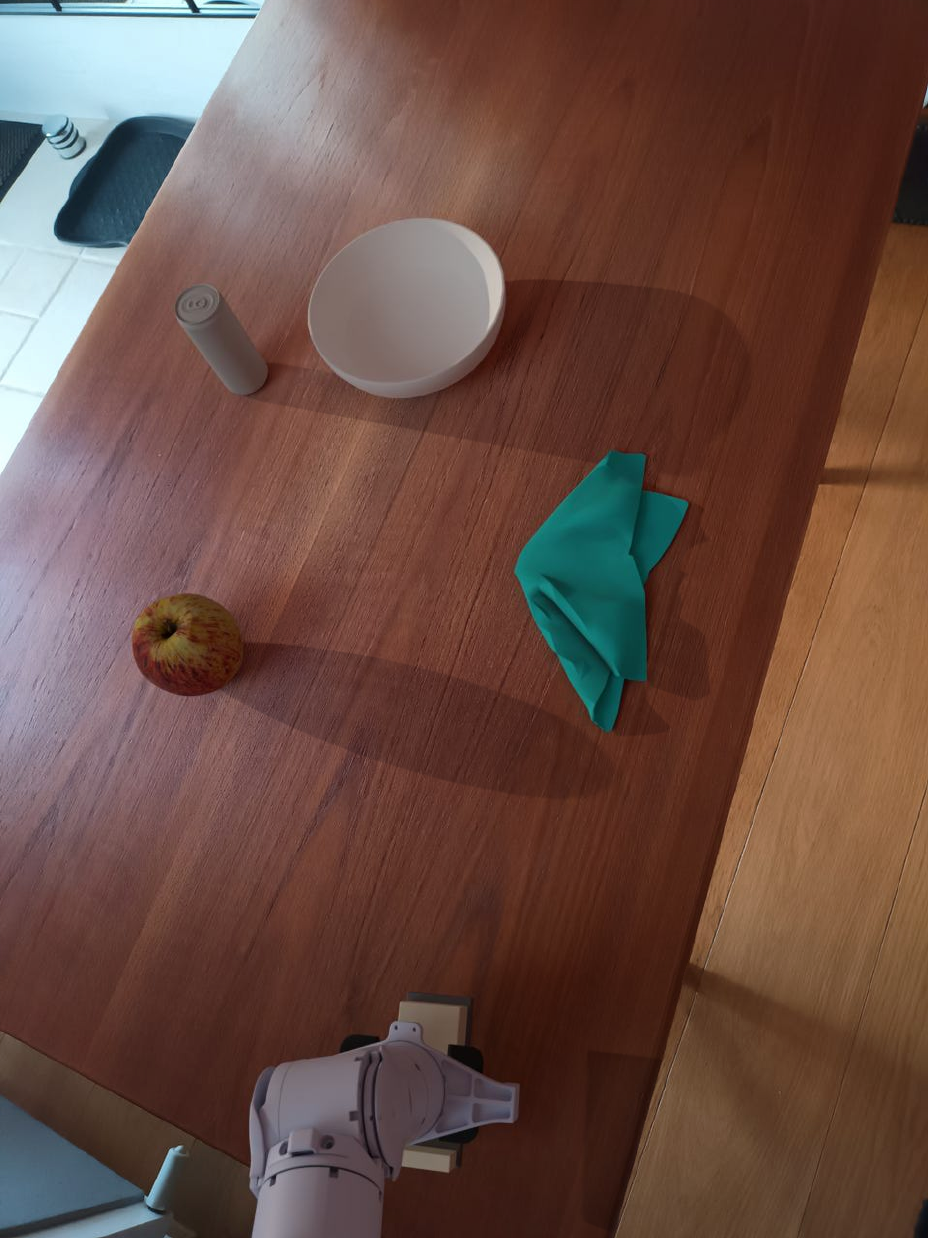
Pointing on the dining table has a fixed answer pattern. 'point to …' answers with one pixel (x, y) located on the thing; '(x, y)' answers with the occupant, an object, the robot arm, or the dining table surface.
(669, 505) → the cloth
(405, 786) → the dining table surface
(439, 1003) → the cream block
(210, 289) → the beverage can
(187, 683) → the apple
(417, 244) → the bowl
